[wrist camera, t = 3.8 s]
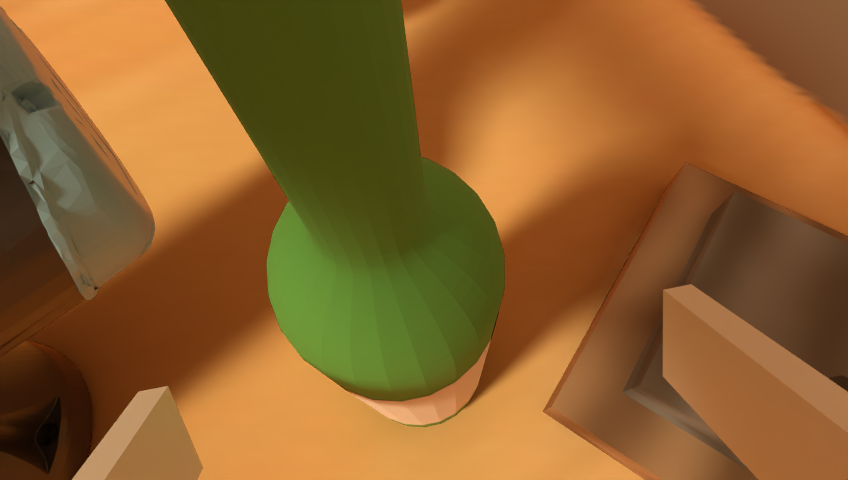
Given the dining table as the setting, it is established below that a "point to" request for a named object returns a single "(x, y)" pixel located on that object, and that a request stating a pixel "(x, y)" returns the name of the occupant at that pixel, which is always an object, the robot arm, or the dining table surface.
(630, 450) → the plinth
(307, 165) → the wine bottle
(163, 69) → the dining table surface
